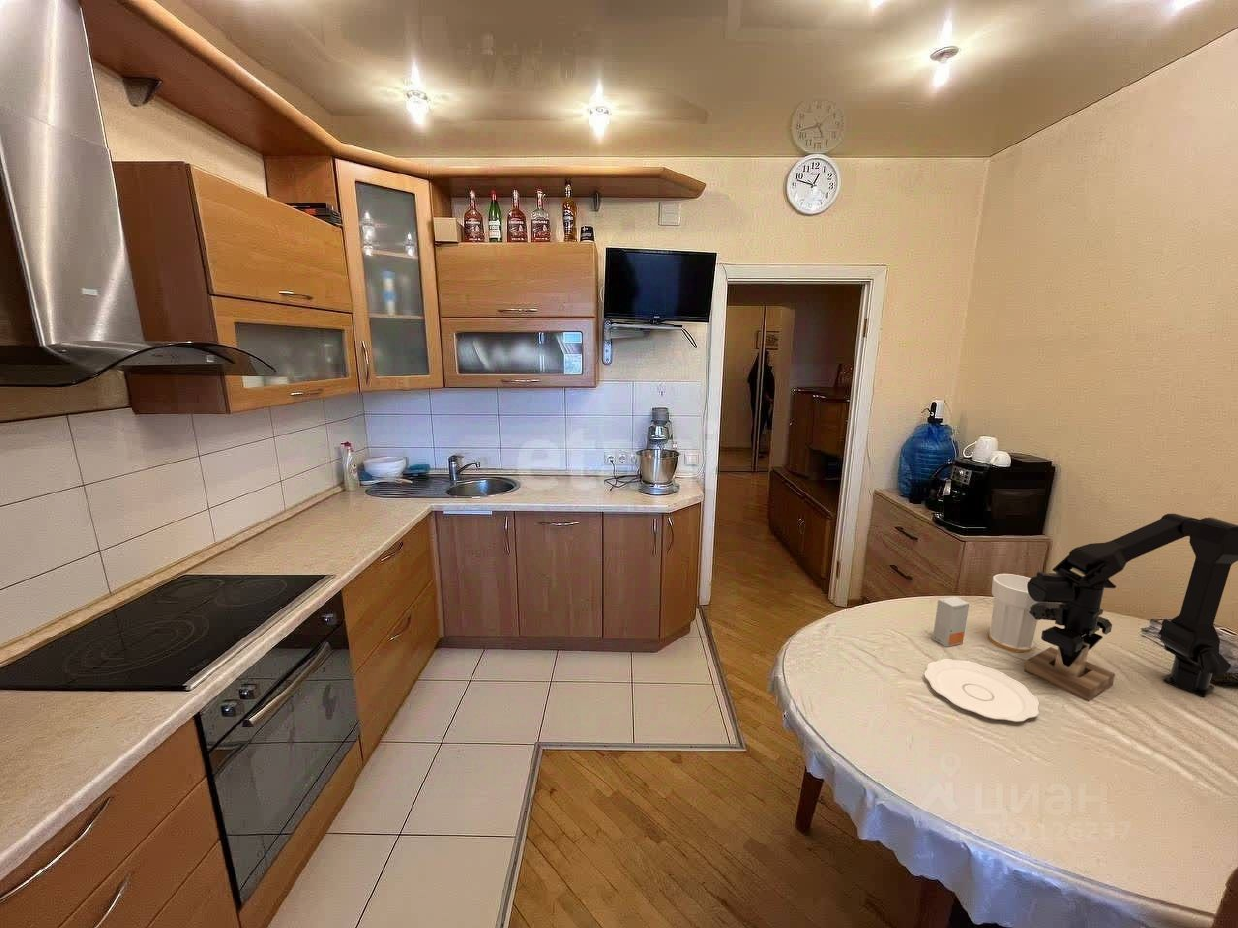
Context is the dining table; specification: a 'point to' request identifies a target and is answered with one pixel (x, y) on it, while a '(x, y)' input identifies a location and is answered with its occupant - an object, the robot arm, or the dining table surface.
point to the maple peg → (1074, 663)
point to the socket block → (1070, 675)
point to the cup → (1012, 613)
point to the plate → (982, 690)
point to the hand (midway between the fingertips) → (1070, 662)
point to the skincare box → (950, 621)
